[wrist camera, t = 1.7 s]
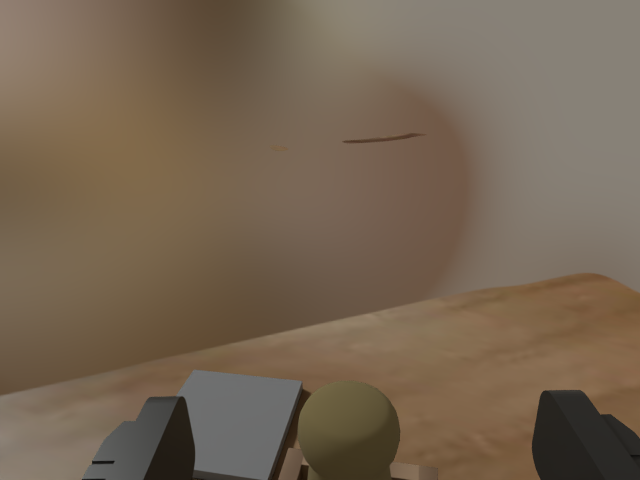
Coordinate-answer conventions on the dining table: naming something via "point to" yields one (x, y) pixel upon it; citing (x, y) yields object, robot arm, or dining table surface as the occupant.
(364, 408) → the cork
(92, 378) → the dining table surface
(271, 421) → the slate tile
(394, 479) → the wooden square frame
